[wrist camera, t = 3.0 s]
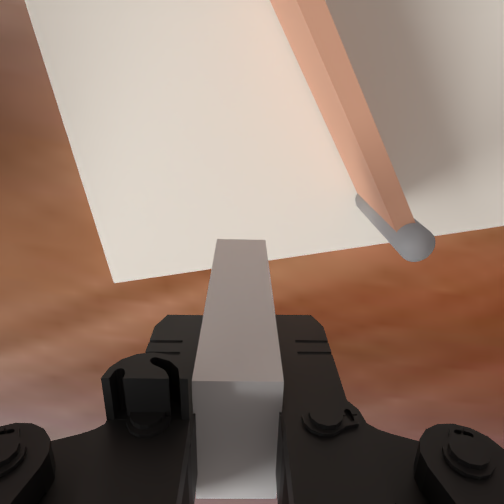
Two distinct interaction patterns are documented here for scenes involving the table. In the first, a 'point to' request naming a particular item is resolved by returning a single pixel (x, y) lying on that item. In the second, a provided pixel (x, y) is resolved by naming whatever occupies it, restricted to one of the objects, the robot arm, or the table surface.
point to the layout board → (268, 123)
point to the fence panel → (351, 124)
